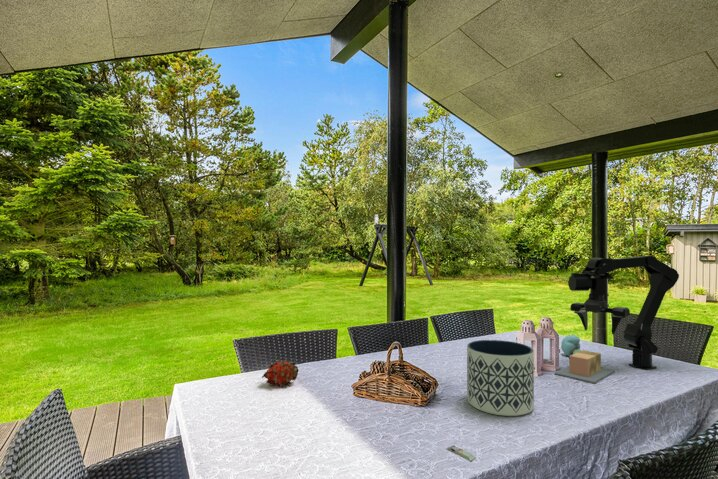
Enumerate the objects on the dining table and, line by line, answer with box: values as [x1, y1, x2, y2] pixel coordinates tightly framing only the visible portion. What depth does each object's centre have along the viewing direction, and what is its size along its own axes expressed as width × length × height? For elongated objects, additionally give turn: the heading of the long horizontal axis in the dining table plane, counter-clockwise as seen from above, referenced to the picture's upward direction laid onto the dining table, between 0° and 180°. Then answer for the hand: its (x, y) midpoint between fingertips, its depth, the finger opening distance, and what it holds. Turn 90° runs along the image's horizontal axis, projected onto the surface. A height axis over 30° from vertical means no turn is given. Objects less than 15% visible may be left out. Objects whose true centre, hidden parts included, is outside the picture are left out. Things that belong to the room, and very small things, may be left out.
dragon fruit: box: [261, 359, 300, 388], centre depth 132 cm, size 8×8×12 cm
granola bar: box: [446, 445, 477, 462], centre depth 88 cm, size 7×2×1 cm, turn 38°
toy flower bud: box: [560, 334, 582, 357], centre depth 164 cm, size 7×9×12 cm
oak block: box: [569, 349, 602, 377], centre depth 144 cm, size 6×6×12 cm
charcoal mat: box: [554, 365, 616, 385], centre depth 144 cm, size 20×13×1 cm, turn 130°
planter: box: [466, 339, 535, 417], centre depth 116 cm, size 18×18×16 cm
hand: (599, 332), depth 152 cm, fingers open, 9 cm apart
